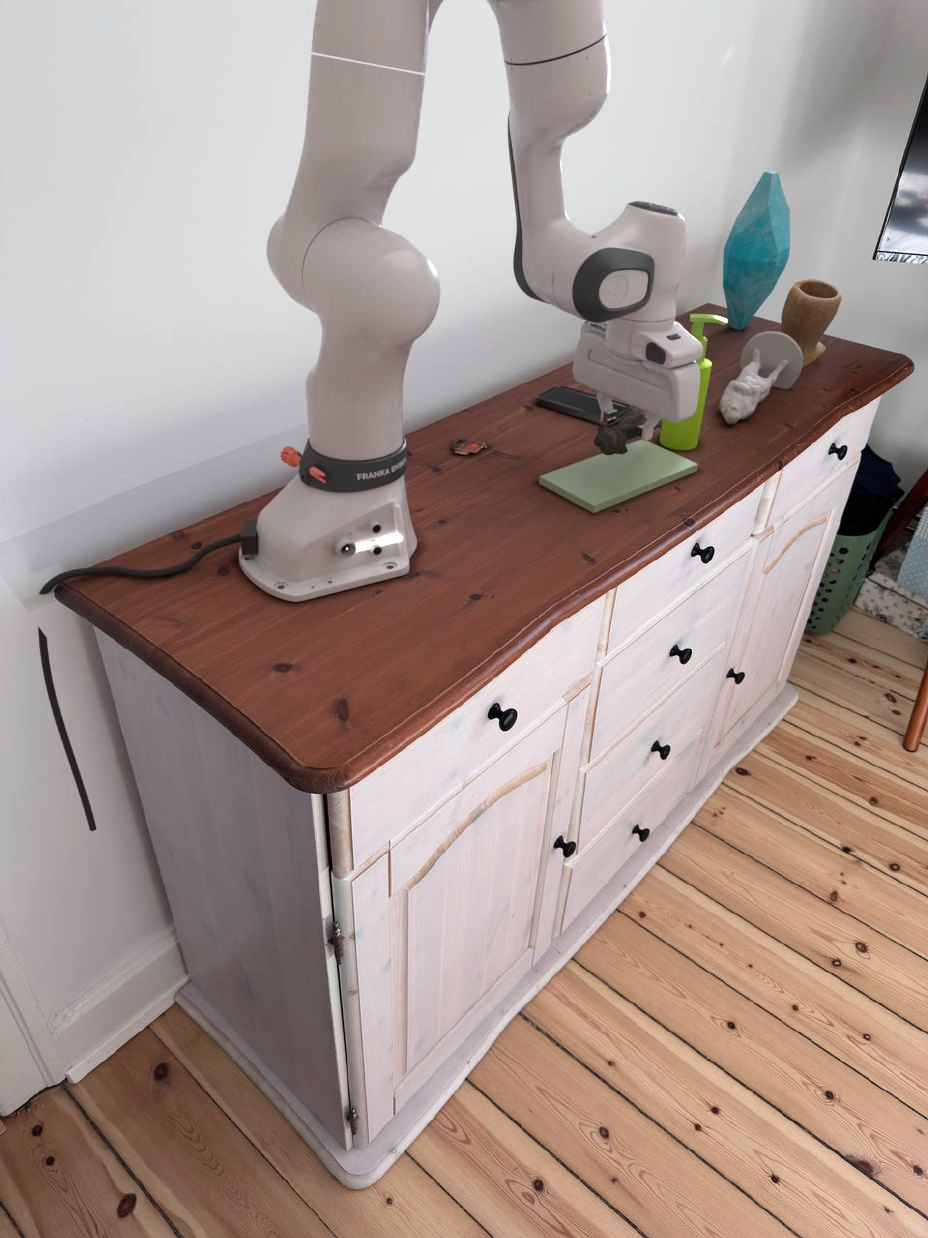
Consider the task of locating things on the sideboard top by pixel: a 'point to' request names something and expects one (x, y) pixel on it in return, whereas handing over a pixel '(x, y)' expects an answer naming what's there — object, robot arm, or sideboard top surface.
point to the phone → (578, 404)
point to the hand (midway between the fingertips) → (625, 430)
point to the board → (617, 475)
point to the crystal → (756, 250)
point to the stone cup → (809, 315)
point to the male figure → (761, 373)
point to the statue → (620, 433)
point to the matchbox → (467, 446)
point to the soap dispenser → (688, 430)
